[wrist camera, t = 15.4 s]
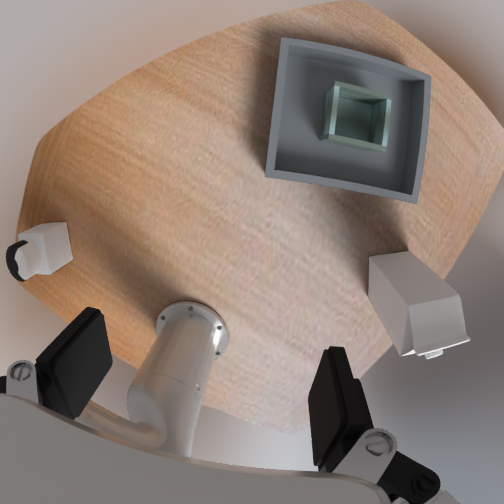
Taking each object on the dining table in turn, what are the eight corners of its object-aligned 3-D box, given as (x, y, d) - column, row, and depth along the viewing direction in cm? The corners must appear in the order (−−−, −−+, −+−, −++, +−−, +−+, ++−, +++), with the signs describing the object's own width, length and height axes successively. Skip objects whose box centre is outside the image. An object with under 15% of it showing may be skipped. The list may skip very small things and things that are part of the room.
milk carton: (368, 255, 40) (423, 326, 23) (409, 250, 40) (477, 312, 22) (367, 297, 43) (411, 379, 25) (406, 291, 42) (462, 363, 24)
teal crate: (369, 151, 34) (385, 151, 29) (319, 140, 35) (328, 138, 29) (375, 102, 32) (391, 95, 26) (325, 91, 32) (334, 80, 27)
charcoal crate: (401, 197, 37) (416, 204, 32) (265, 174, 38) (264, 177, 33) (414, 82, 31) (430, 75, 26) (280, 50, 32) (281, 37, 27)
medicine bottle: (48, 259, 45) (8, 285, 34) (41, 223, 42) (-3, 243, 31) (74, 259, 44) (32, 288, 33) (67, 221, 42) (21, 243, 31)
